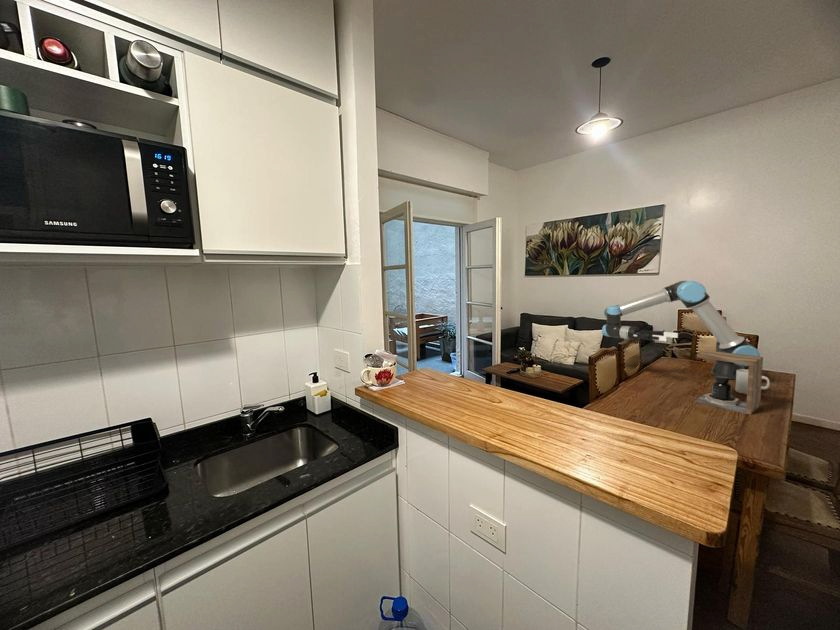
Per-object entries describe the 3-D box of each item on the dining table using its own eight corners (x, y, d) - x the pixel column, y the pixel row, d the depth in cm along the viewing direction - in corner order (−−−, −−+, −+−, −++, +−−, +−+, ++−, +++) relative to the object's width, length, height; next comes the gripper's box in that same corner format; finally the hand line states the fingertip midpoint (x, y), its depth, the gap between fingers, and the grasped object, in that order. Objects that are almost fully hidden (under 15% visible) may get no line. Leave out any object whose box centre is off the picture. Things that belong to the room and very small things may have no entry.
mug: (735, 392, 167) (736, 371, 165) (735, 388, 173) (736, 368, 171) (769, 397, 158) (770, 375, 157) (768, 393, 164) (769, 371, 163)
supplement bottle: (723, 398, 157) (724, 374, 156) (735, 404, 150) (736, 379, 149) (707, 398, 158) (709, 374, 157) (719, 404, 151) (720, 379, 150)
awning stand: (705, 395, 165) (707, 350, 162) (760, 407, 148) (762, 356, 146) (695, 401, 158) (696, 354, 155) (750, 414, 141) (753, 361, 139)
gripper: (640, 336, 201) (681, 340, 183) (619, 342, 188) (661, 347, 170) (640, 324, 200) (682, 327, 182) (619, 329, 187) (661, 333, 169)
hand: (672, 337), depth 176 cm, fingers open, 13 cm apart
